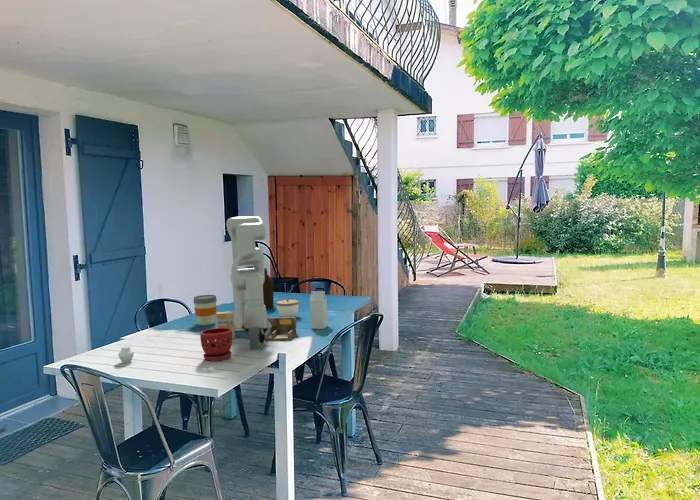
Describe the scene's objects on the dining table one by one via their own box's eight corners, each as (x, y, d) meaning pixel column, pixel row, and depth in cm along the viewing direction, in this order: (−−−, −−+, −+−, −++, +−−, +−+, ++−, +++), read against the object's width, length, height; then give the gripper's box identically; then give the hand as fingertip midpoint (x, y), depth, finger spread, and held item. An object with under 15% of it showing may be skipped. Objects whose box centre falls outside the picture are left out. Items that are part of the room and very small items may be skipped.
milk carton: (324, 329, 263) (322, 292, 261) (311, 329, 264) (309, 292, 263) (327, 326, 270) (326, 290, 268) (314, 325, 271) (313, 290, 270)
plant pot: (239, 356, 220) (238, 329, 218) (213, 364, 210) (211, 335, 209) (221, 351, 228) (220, 325, 227) (195, 359, 218) (193, 331, 217)
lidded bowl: (273, 319, 290) (272, 300, 289) (282, 314, 303) (281, 296, 302) (295, 319, 287) (294, 300, 286) (302, 315, 300) (301, 296, 299)
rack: (253, 340, 245) (252, 324, 244) (261, 333, 259) (260, 317, 258) (290, 340, 243) (289, 323, 243) (296, 332, 257) (295, 317, 257)
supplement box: (217, 340, 248) (216, 313, 247) (217, 338, 253) (216, 312, 251) (235, 338, 250) (233, 312, 249) (234, 336, 255) (233, 310, 254)
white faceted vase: (136, 359, 221) (135, 343, 220) (131, 364, 215) (130, 347, 214) (122, 360, 221) (121, 344, 220) (116, 364, 214) (114, 348, 214)
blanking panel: (250, 350, 229) (248, 328, 228) (256, 344, 239) (255, 323, 238) (258, 350, 228) (257, 328, 228) (264, 344, 238) (263, 322, 237)
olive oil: (277, 306, 327) (275, 267, 325) (263, 309, 320) (261, 269, 318) (268, 304, 335) (266, 266, 333) (254, 307, 328) (252, 268, 326)
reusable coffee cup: (214, 325, 281) (213, 298, 280) (191, 326, 281) (190, 299, 280) (220, 320, 294) (218, 294, 292) (198, 321, 294) (196, 295, 292)
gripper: (234, 304, 229) (236, 344, 230) (271, 303, 227) (273, 344, 229) (239, 301, 236) (241, 340, 238) (275, 300, 235) (277, 340, 236)
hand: (257, 341), depth 233 cm, fingers closed on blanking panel, 4 cm apart
